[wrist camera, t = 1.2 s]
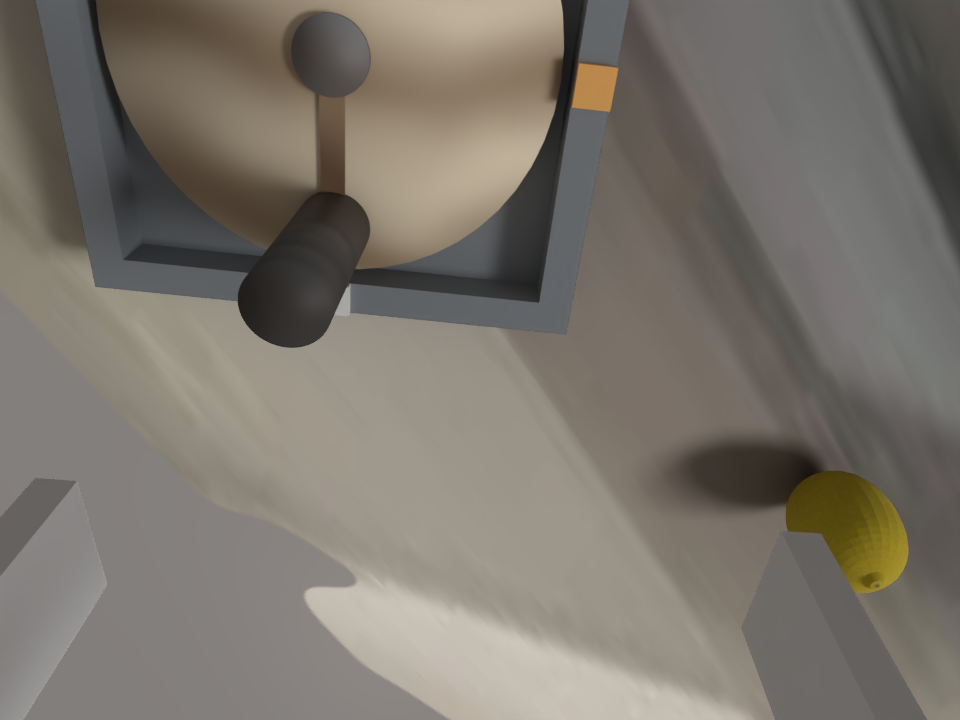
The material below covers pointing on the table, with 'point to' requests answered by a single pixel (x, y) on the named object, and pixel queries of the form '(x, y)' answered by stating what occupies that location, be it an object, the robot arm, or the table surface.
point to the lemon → (852, 526)
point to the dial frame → (375, 291)
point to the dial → (336, 127)
